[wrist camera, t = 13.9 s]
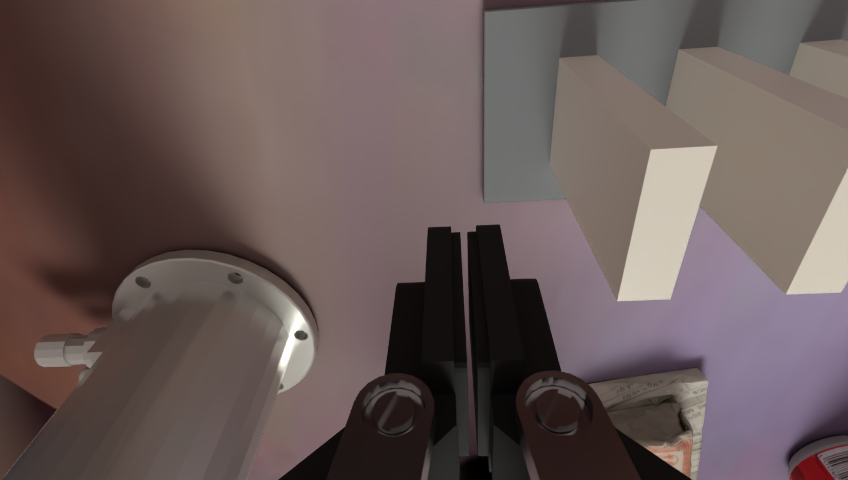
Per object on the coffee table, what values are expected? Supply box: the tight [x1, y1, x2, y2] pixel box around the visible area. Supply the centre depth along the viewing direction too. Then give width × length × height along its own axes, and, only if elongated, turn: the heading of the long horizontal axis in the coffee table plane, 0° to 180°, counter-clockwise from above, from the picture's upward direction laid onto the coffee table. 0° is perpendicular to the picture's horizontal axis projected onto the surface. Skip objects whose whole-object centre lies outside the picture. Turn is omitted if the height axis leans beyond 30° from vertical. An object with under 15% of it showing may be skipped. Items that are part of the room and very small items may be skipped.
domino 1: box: [549, 55, 717, 301], centre depth 17 cm, size 2×5×10 cm, turn 4°
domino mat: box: [483, 0, 848, 203], centre depth 21 cm, size 28×9×1 cm, turn 94°
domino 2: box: [666, 47, 848, 294], centre depth 16 cm, size 2×5×10 cm, turn 4°
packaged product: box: [588, 368, 708, 480], centre depth 35 cm, size 18×5×10 cm
